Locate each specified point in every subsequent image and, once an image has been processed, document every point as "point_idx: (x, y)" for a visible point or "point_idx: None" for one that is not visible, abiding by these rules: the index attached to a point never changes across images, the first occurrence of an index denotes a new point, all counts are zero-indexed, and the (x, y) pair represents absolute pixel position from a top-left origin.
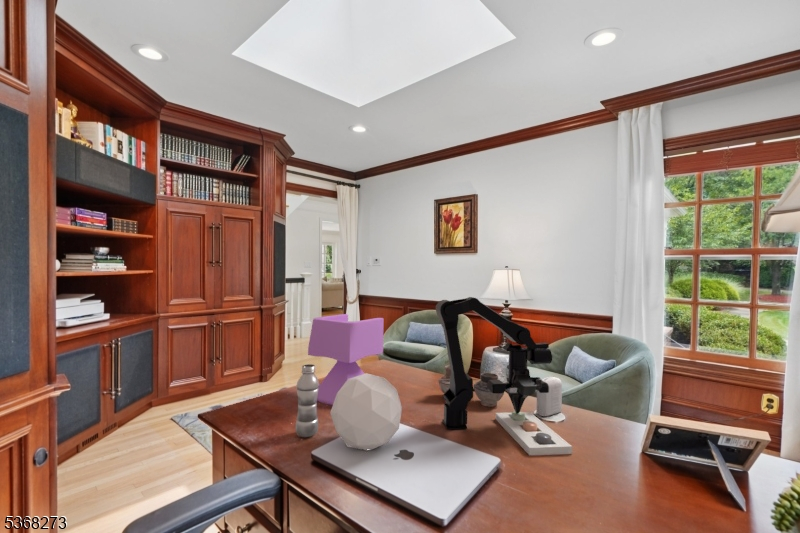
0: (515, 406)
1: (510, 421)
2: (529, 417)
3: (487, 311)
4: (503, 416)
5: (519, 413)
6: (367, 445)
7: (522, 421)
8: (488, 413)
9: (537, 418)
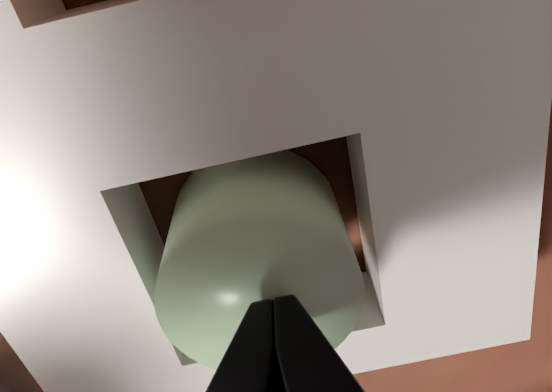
0: (352, 377)
1: (438, 83)
2: (89, 287)
3: None
4: (473, 254)
5: (240, 309)
6: None
7: (223, 119)
8: (506, 387)
9: None
